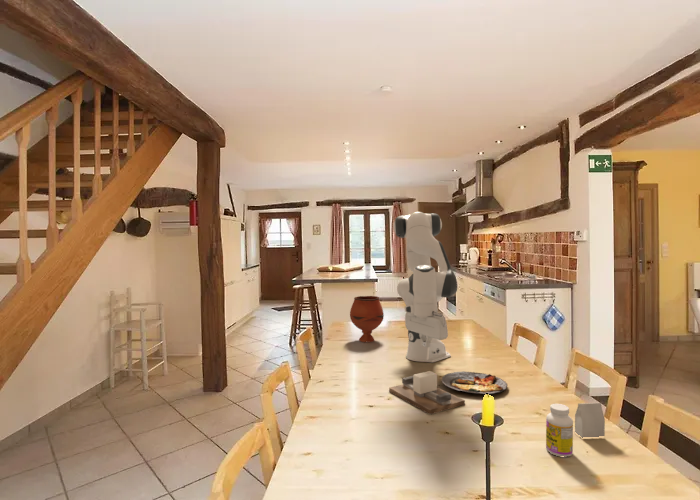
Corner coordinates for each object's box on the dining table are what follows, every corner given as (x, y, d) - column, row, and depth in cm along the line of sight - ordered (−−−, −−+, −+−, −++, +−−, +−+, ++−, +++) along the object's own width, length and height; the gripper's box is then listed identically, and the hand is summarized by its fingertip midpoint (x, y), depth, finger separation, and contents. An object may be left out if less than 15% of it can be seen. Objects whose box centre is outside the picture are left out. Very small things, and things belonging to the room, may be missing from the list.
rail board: (421, 383, 169) (421, 372, 169) (464, 404, 148) (464, 392, 148) (389, 391, 161) (389, 379, 161) (429, 414, 140) (429, 401, 140)
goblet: (389, 338, 241) (389, 296, 240) (373, 346, 225) (372, 300, 224) (361, 334, 252) (360, 293, 251) (343, 342, 236) (343, 298, 235)
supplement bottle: (541, 446, 119) (541, 402, 118) (563, 445, 119) (563, 401, 119) (554, 459, 112) (555, 412, 111) (578, 457, 112) (578, 411, 112)
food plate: (506, 380, 173) (506, 371, 172) (508, 402, 151) (508, 392, 150) (445, 374, 181) (445, 366, 180) (438, 394, 159) (438, 385, 158)
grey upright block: (604, 439, 123) (604, 405, 122) (582, 439, 122) (582, 406, 122) (596, 433, 126) (596, 400, 126) (574, 433, 126) (575, 401, 126)
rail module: (430, 389, 158) (430, 370, 158) (437, 393, 155) (437, 373, 155) (413, 394, 155) (413, 374, 154) (420, 397, 151) (420, 377, 151)
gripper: (451, 313, 146) (452, 351, 147) (414, 304, 164) (415, 339, 164) (438, 315, 143) (438, 355, 144) (402, 306, 161) (402, 341, 161)
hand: (426, 346), depth 154 cm, fingers closed
